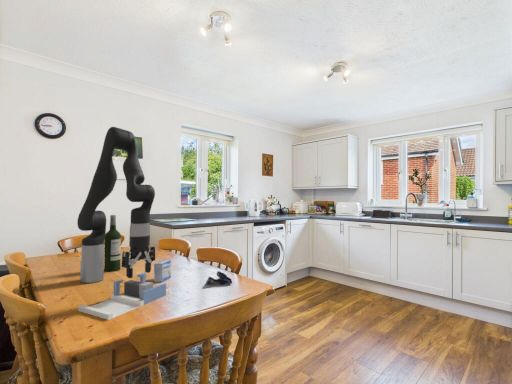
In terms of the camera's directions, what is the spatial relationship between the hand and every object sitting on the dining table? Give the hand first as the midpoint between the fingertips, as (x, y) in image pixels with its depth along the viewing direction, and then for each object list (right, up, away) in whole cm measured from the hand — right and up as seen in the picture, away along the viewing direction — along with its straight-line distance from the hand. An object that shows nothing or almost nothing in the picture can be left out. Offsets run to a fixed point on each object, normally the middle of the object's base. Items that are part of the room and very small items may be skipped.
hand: (138, 275), depth 110 cm
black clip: (+30, -10, +18) cm, 36 cm away
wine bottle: (-32, -10, +41) cm, 53 cm away
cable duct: (-2, -9, -6) cm, 11 cm away
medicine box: (+1, -10, +23) cm, 25 cm away
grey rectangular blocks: (-1, -8, +1) cm, 8 cm away
